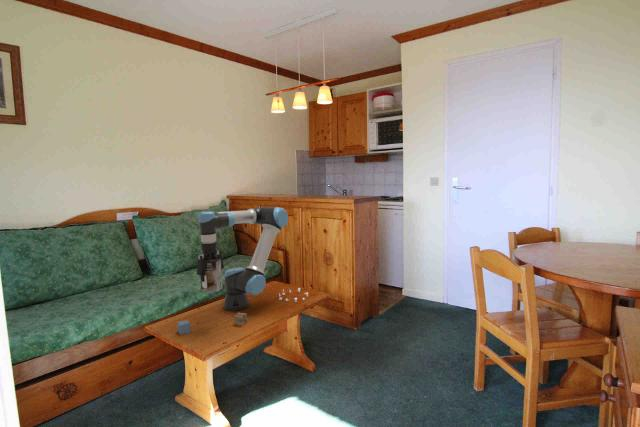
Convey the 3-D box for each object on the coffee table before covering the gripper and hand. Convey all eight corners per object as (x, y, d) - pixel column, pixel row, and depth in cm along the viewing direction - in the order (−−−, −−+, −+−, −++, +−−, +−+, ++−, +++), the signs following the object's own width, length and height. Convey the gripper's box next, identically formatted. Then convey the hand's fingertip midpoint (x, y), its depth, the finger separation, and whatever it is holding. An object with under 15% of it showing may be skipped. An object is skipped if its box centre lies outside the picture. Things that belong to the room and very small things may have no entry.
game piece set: (292, 290, 251) (292, 284, 251) (315, 296, 239) (314, 290, 238) (271, 298, 236) (271, 292, 236) (294, 305, 224) (294, 299, 223)
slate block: (187, 329, 194) (186, 319, 193) (190, 332, 190) (189, 322, 189) (177, 331, 191) (177, 322, 190) (180, 335, 187) (179, 325, 186)
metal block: (239, 321, 201) (238, 312, 201) (247, 322, 200) (246, 313, 199) (234, 325, 197) (233, 316, 196) (242, 326, 195) (241, 317, 194)
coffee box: (200, 291, 190) (198, 260, 188) (206, 287, 196) (204, 257, 194) (217, 292, 189) (215, 261, 187) (222, 287, 195) (221, 257, 193)
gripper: (219, 237, 200) (222, 278, 203) (186, 245, 183) (190, 289, 186) (229, 238, 196) (232, 280, 199) (196, 246, 179) (199, 292, 181)
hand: (211, 285), depth 192 cm, fingers closed on coffee box, 8 cm apart
